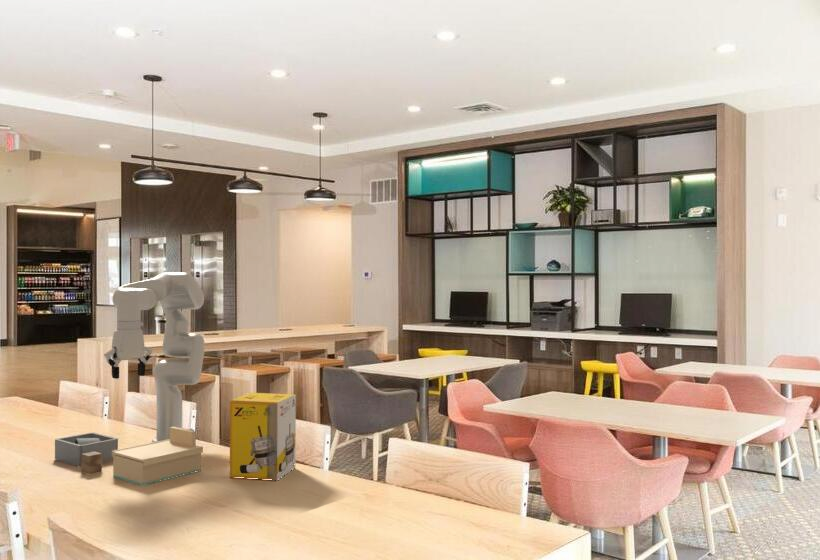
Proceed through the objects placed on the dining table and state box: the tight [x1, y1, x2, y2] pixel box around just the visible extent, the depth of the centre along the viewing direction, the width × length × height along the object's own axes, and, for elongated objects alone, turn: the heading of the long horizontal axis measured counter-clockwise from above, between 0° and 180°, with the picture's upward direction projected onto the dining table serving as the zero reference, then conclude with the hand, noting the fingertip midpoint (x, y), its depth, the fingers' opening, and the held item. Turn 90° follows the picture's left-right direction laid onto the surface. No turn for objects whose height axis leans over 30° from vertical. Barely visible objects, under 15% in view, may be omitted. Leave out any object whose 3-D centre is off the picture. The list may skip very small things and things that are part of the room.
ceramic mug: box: [75, 438, 101, 445], centre depth 268 cm, size 11×8×8 cm
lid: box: [112, 427, 204, 466], centre depth 248 cm, size 22×18×7 cm
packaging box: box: [229, 392, 297, 480], centre depth 250 cm, size 16×16×25 cm
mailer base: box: [112, 453, 202, 486], centre depth 249 cm, size 22×16×7 cm
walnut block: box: [80, 451, 103, 475], centre depth 250 cm, size 4×4×6 cm
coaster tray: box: [54, 432, 119, 467], centre depth 267 cm, size 14×16×7 cm
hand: (128, 376), depth 258 cm, fingers open, 9 cm apart
